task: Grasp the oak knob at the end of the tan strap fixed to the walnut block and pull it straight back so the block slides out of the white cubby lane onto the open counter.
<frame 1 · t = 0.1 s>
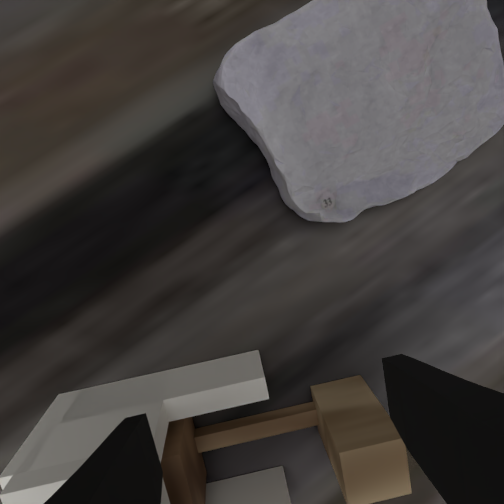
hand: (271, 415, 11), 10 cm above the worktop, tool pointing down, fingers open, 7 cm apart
cubby lane: (188, 438, 22), on the worktop
tethered block: (154, 445, 22), on the worktop
stone block: (354, 109, 20), on the worktop
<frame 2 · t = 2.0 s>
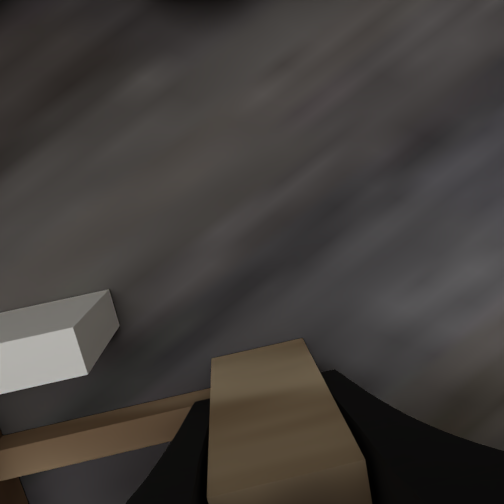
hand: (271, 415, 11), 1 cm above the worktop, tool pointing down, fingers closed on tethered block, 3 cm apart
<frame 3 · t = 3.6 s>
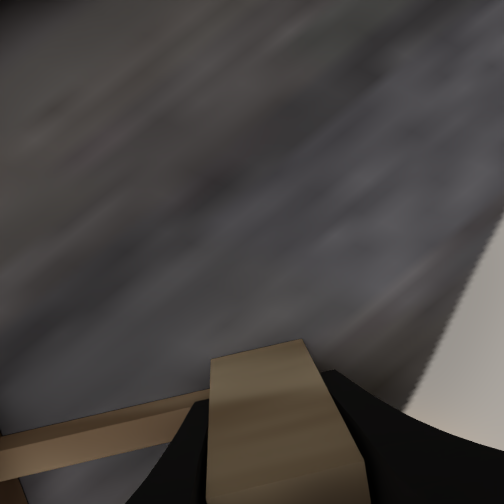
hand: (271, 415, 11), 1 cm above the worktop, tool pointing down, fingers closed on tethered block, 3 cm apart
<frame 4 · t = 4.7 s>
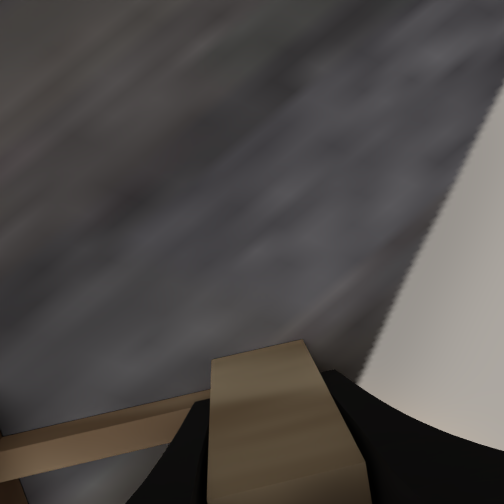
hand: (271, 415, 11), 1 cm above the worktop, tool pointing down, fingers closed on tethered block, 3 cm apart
when the fingers open (1 cm above the worktop, at t = 5.2 s): tethered block stays where it is, on the worktop.
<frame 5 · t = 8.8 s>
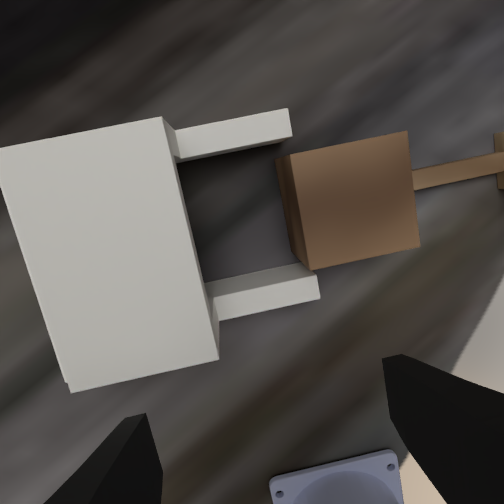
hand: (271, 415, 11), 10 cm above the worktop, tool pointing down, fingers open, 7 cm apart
cubby lane: (200, 222, 21), on the worktop
tethered block: (328, 196, 21), on the worktop
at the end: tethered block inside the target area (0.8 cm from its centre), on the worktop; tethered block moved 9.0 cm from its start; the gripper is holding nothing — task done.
